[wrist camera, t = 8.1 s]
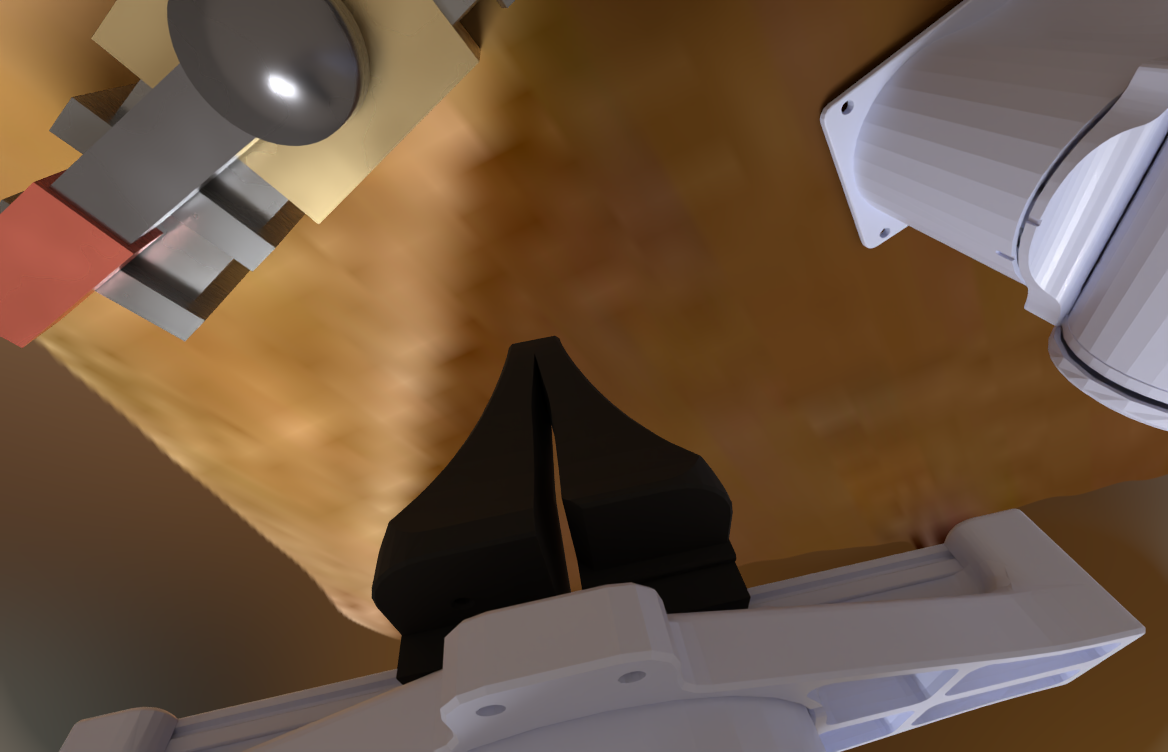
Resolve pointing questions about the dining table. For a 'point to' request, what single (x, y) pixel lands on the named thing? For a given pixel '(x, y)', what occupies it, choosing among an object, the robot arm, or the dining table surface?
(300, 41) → the lever
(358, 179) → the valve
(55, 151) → the dining table surface
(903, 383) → the dining table surface
